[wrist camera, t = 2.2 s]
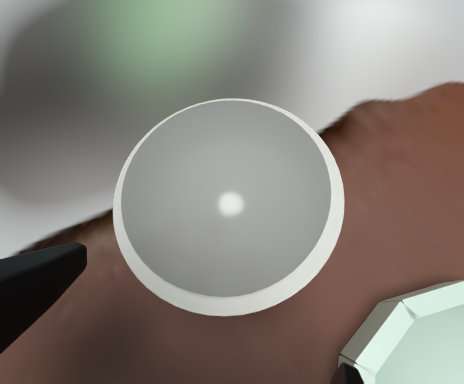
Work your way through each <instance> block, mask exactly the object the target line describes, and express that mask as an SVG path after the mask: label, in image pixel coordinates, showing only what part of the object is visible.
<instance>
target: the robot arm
mask: <svg viewBox="0 0 464 384" xmlns="http://www.w3.org/2000/svg"><path fill="white" fill-rule="evenodd" d="M86 265H87V248H86V246H85V245H82V244H80V243H78V242H72V243H67V244H63V245H59V246H55V247H50V248H46V249H42V250H38V251H33V252H29V253H25V254H21V255H17V256H12V257H8V258H4V259H0V354H1V353H2V352H3V351H4V350H5V349H6V348H7V347H9V346H10V345H11V344H12V343H13V342H14V341H15V340H16V339H17V338H18V337H19V336H20V335H21V334H22V333H24V332H25V331H26V330H27V329H28V328H29V327H30V326H31V325H32V324H33V323H34V322H35V321H36V320H37V319H38V318H40V317H41V316H42V315H43V314H44V313H45V312H46V311H47V310H48V309H49V308H50V307H51V306H52V305H53V304H54V303H55V302H56V301H57V300H58V299H59V298H60V297H61V295H62V294H63V293H64V292H65V291H66V290H67V289H68V288H69V286H70V285H71V284H72V283H73V282H74V281H75V280H76V279H77V278H78V276H79V275H80V274H81V273H82V272H83V271H84V269H85V268H86ZM330 384H365V383H364V381H363V379H362V377H361V375H360V373H359V371H358V369H357V368H356V367H354V366H351V365H349V364H347V363H345V362H343V363H341V364H340V366H339V367H338V369H337V371H336V373H335V374H334V376H333V378H332V380H331V383H330Z"/></svg>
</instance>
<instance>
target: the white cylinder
mask: <svg viewBox="0 0 464 384" xmlns="http://www.w3.org/2000/svg"><path fill="white" fill-rule="evenodd" d="M343 216H344V191H343V184H342V180H341V176H340V172H339V169H338V167H337V164H336V162H335V159H334V157H333V156H332V154H331V152H330V150H329V149H328V147H327V146H326V144H325V143H324V142H323V140H322V139H321V138H320V136H319V135H318V134H317V133H316V132H315V131H314V130H313V129H312V128H311V127H310V126H308V125H307V124H306V123H305V122H303V121H302V120H301V119H299V118H298V117H296V116H294V115H293V114H291V113H289V112H288V111H285V110H283V109H281V108H279V107H276V106H273V105H270V104H267V103H264V102H260V101H254V100H248V99H220V100H212V101H207V102H203V103H199V104H196V105H193V106H190V107H187V108H185V109H183V110H181V111H179V112H176V113H175V114H173V115H171V116H169V117H168V118H166V119H165V120H163V121H162V122H160V123H159V124H158V125H156V126H155V127H154V128H153V129H152V130H151V131H149V132H148V133H147V134H146V135H145V136H144V137H143V138H142V140H141V141H140V142H139V143H138V144H137V145H136V147H135V148H134V150H133V151H132V153H131V154H130V155H129V157H128V159H127V161H126V163H125V165H124V166H123V169H122V171H121V173H120V176H119V179H118V182H117V186H116V190H115V195H114V203H113V222H114V229H115V234H116V239H117V241H118V244H119V247H120V250H121V253H122V254H123V256H124V258H125V260H126V262H127V264H128V266H129V267H130V268H131V270H132V271H133V273H134V274H135V275H136V277H137V278H138V279H139V280H140V281H141V282H142V283H143V284H144V285H145V286H146V287H147V288H148V289H149V290H151V291H152V292H153V293H155V294H156V295H157V296H158V297H160V298H161V299H163V300H165V301H167V302H169V303H171V304H172V305H174V306H177V307H179V308H182V309H185V310H188V311H190V312H195V313H200V314H204V315H213V316H234V315H244V314H248V313H253V312H257V311H261V310H263V309H266V308H269V307H271V306H274V305H277V304H278V303H280V302H282V301H284V300H286V299H287V298H289V297H291V296H293V295H294V294H295V293H296V292H298V291H299V290H300V289H302V288H303V287H304V286H306V285H307V284H308V283H309V282H310V281H311V280H312V279H313V278H314V277H315V276H316V275H317V274H318V272H319V271H320V270H321V268H322V267H323V265H324V264H325V263H326V261H327V260H328V258H329V256H330V254H331V253H332V251H333V249H334V247H335V245H336V242H337V239H338V236H339V234H340V231H341V226H342V221H343Z"/></svg>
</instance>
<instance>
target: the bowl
mask: <svg viewBox="0 0 464 384" xmlns="http://www.w3.org/2000/svg"><path fill="white" fill-rule="evenodd" d="M340 354H341V355H342V356H341V355H339V361H338V367H339V366H340V364H341V363H343V362H345V363H347V364H349V365H351V366H354V367H356V368H357V369H358V371H359V373H360V375H361V377H362V379H363V381H364V383H365V384H464V280H458V281H452V282H445V283H439V284H436V285H432V286H429V287H426V288H423V289H419V290H416V291H413V292H410V293H406V294H403V295H400V296H396V297H393V298H390V299H387V300H383V301H380V302H379V303H378V304H377V305H376V307H375V308H374V309H373V311H372V312H371V313H370V314H369V316H368V317H367V318H366V320H365V321H364V322H363V324H362V325H361V326H360V328H359V329H358V330H357V331H356V333H355V334H354V335H353V337H352V338H351V339H350V341H349V342H348V343H347V344H346V346H345V347H344V348H343V350H342V351H341V352H340Z"/></svg>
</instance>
